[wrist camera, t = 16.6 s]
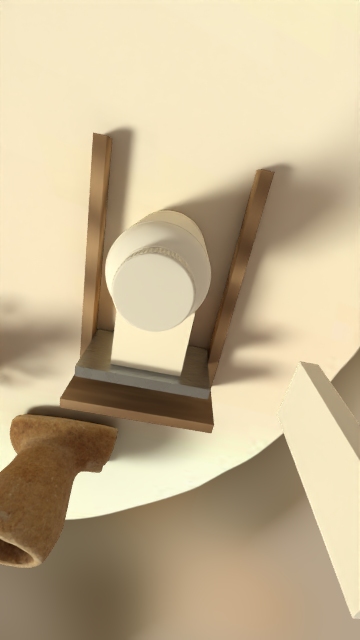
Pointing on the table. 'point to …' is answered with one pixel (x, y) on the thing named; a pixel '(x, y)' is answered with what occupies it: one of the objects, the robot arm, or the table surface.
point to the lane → (83, 390)
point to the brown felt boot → (45, 481)
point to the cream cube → (151, 347)
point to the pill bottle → (158, 271)
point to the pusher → (187, 384)
